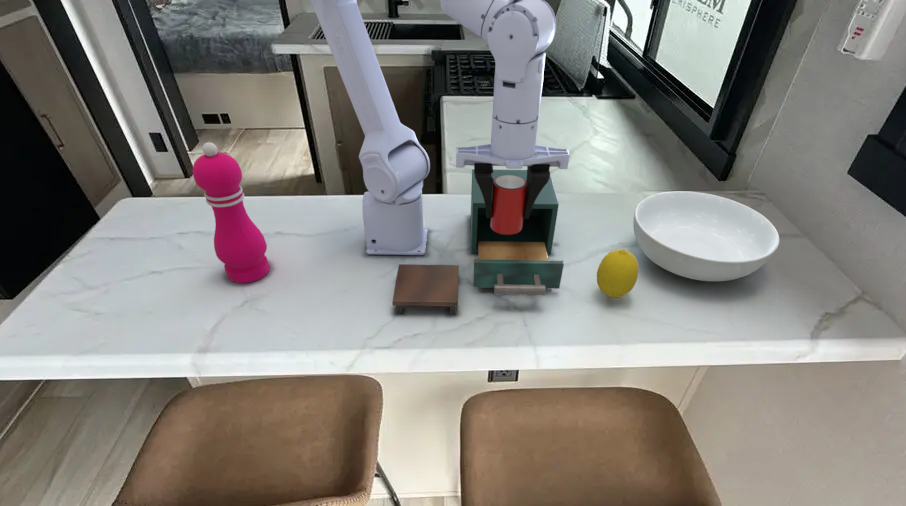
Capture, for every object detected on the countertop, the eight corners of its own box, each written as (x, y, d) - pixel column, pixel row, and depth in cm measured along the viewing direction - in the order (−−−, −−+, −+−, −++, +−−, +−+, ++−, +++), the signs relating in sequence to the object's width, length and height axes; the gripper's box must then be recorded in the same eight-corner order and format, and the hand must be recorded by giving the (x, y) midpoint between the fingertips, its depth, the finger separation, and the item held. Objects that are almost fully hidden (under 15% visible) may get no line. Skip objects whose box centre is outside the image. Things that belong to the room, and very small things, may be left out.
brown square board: (393, 315, 72) (392, 301, 70) (399, 277, 78) (398, 264, 77) (457, 316, 71) (458, 302, 70) (458, 278, 78) (458, 264, 76)
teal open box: (471, 253, 83) (472, 203, 77) (470, 217, 92) (472, 169, 86) (550, 254, 83) (558, 204, 77) (542, 218, 92) (549, 170, 86)
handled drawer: (473, 304, 72) (474, 278, 69) (472, 244, 83) (473, 220, 81) (563, 305, 72) (568, 280, 69) (549, 245, 83) (553, 221, 80)
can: (490, 234, 72) (493, 189, 67) (489, 218, 75) (492, 174, 70) (523, 235, 72) (528, 189, 67) (520, 218, 75) (525, 174, 70)
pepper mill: (282, 265, 80) (249, 137, 67) (250, 290, 75) (208, 158, 62) (246, 254, 83) (207, 128, 69) (213, 277, 78) (164, 147, 64)
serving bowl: (664, 308, 73) (679, 268, 69) (604, 233, 88) (612, 196, 84) (791, 290, 76) (813, 251, 72) (712, 221, 92) (726, 185, 87)
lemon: (632, 289, 76) (645, 243, 71) (628, 311, 72) (643, 264, 67) (594, 282, 78) (605, 236, 72) (589, 303, 74) (600, 256, 68)
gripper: (456, 126, 60) (455, 228, 69) (579, 128, 60) (562, 230, 69) (456, 106, 65) (455, 203, 74) (570, 108, 65) (555, 205, 74)
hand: (506, 215), depth 72 cm, fingers closed on can, 4 cm apart
